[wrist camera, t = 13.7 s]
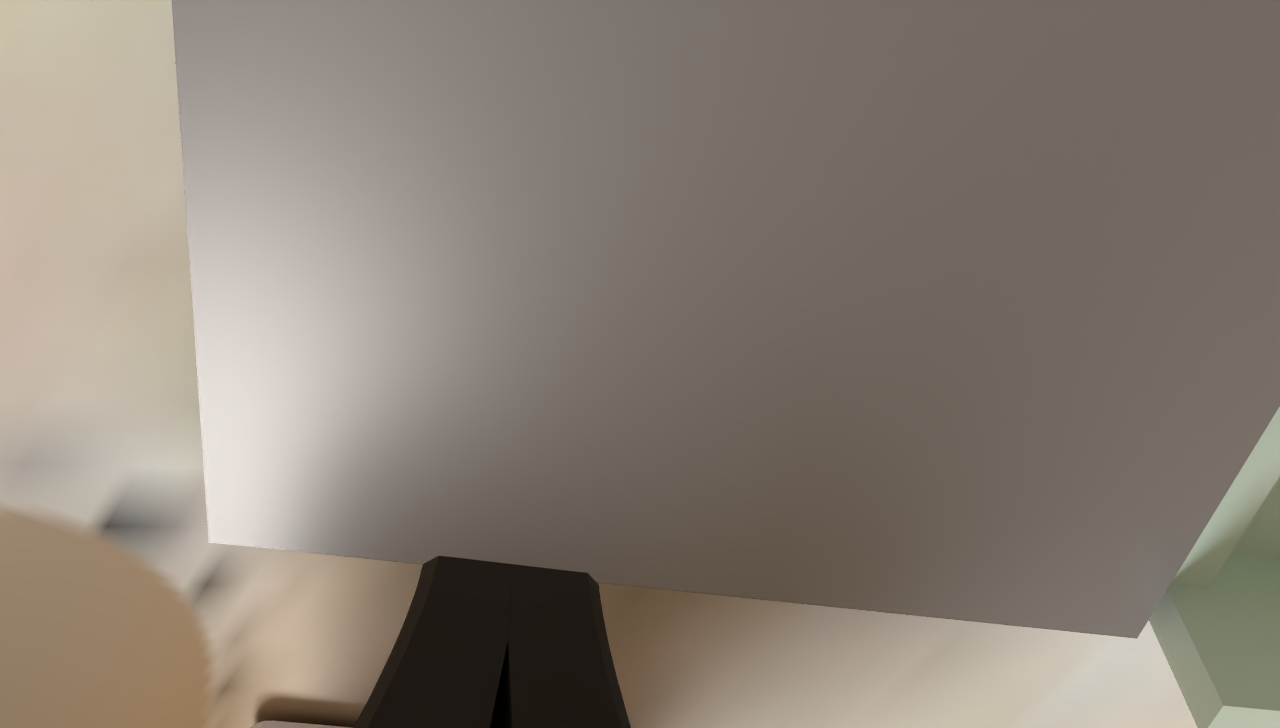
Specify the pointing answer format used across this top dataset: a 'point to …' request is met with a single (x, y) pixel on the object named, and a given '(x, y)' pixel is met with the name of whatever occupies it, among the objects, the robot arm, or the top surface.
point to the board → (739, 289)
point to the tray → (1231, 603)
